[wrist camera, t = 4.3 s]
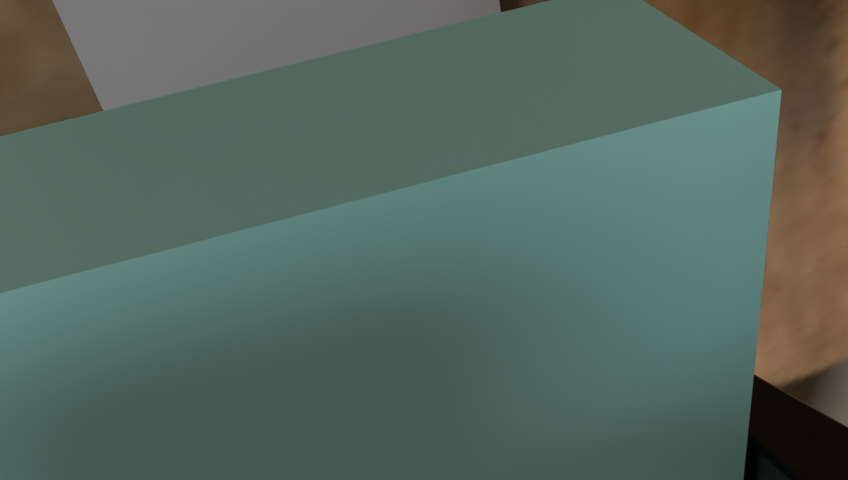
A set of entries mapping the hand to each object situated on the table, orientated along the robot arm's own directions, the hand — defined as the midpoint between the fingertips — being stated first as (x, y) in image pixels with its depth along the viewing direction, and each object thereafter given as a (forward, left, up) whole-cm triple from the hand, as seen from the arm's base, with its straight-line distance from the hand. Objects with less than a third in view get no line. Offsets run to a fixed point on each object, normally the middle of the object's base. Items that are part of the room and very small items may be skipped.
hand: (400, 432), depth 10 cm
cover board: (0, 0, -1) cm, 1 cm away
